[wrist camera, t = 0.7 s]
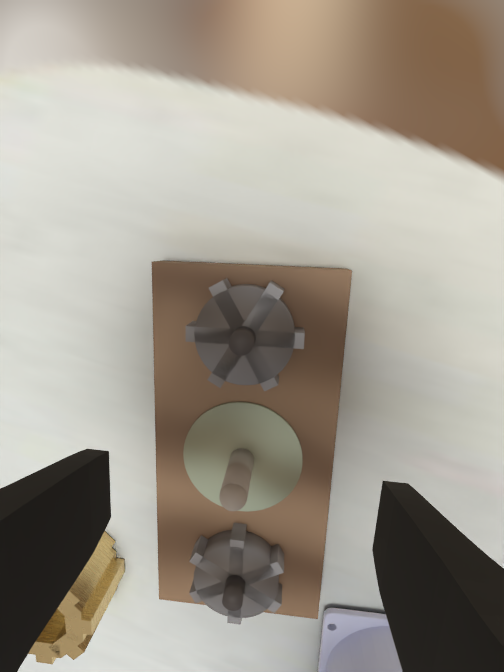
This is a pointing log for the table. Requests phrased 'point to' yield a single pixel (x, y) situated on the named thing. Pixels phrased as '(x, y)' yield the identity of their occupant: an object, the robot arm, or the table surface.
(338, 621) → the robot arm
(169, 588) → the gear board
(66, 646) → the brass gear
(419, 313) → the table surface
